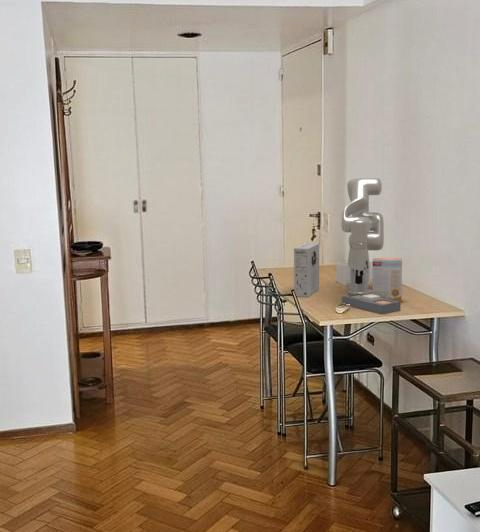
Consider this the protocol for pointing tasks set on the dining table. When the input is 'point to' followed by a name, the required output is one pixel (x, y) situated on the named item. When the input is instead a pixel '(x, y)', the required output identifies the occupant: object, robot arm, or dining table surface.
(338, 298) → the dining table surface
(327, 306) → the dining table surface
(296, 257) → the cereal box
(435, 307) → the dining table surface
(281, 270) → the dining table surface
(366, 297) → the middle key
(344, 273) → the storage container
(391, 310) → the key panel
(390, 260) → the cracker box
